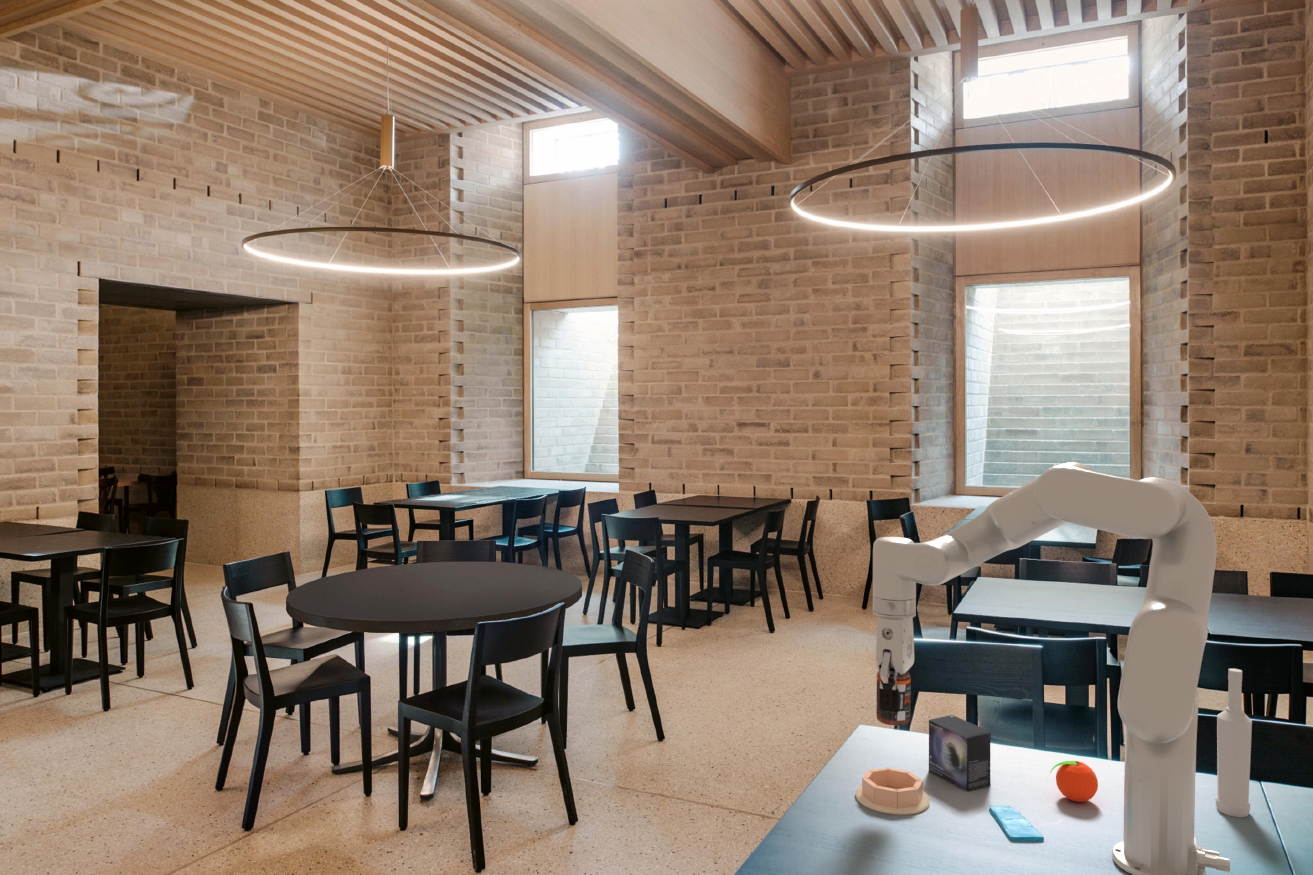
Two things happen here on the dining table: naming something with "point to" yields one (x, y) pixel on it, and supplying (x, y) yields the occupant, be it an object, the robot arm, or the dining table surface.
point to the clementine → (1076, 781)
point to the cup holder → (892, 792)
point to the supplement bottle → (904, 701)
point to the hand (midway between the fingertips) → (893, 704)
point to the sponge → (1015, 824)
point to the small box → (959, 752)
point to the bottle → (1233, 752)
